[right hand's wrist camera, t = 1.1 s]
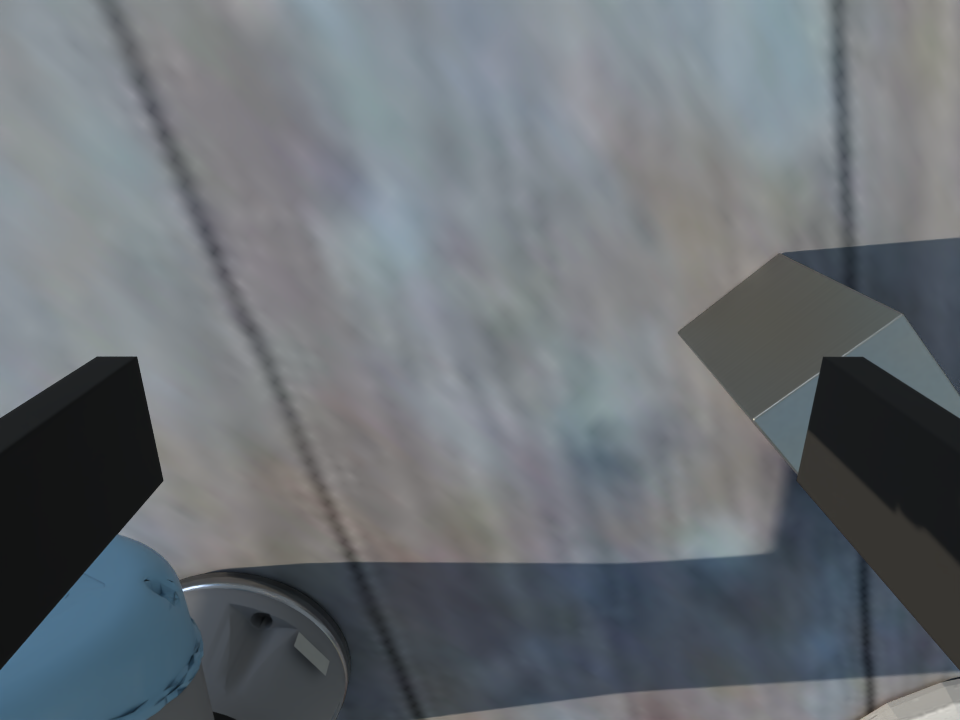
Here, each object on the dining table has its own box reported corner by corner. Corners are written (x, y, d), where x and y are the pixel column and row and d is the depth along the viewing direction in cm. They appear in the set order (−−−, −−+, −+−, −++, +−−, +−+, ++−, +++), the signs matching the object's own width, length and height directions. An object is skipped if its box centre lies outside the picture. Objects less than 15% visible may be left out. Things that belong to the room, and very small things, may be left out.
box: (676, 332, 35) (752, 420, 25) (779, 252, 34) (903, 312, 24) (860, 550, 41) (982, 692, 31) (956, 491, 39) (1117, 621, 29)
